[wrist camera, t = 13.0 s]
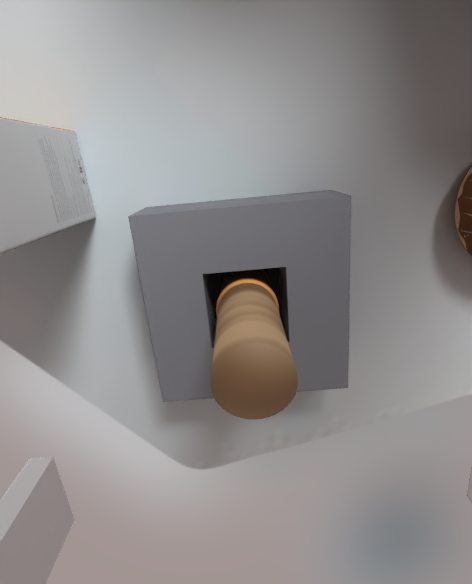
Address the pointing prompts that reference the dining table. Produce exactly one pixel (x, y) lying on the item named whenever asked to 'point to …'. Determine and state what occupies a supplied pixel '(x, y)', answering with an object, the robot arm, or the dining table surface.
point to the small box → (39, 183)
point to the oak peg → (251, 349)
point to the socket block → (238, 257)
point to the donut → (465, 212)
